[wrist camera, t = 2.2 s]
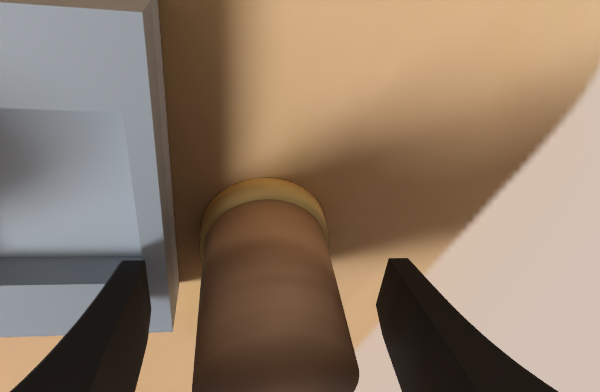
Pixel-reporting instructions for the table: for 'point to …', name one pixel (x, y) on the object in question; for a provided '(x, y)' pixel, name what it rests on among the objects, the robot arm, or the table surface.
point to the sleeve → (269, 295)
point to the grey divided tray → (82, 160)
